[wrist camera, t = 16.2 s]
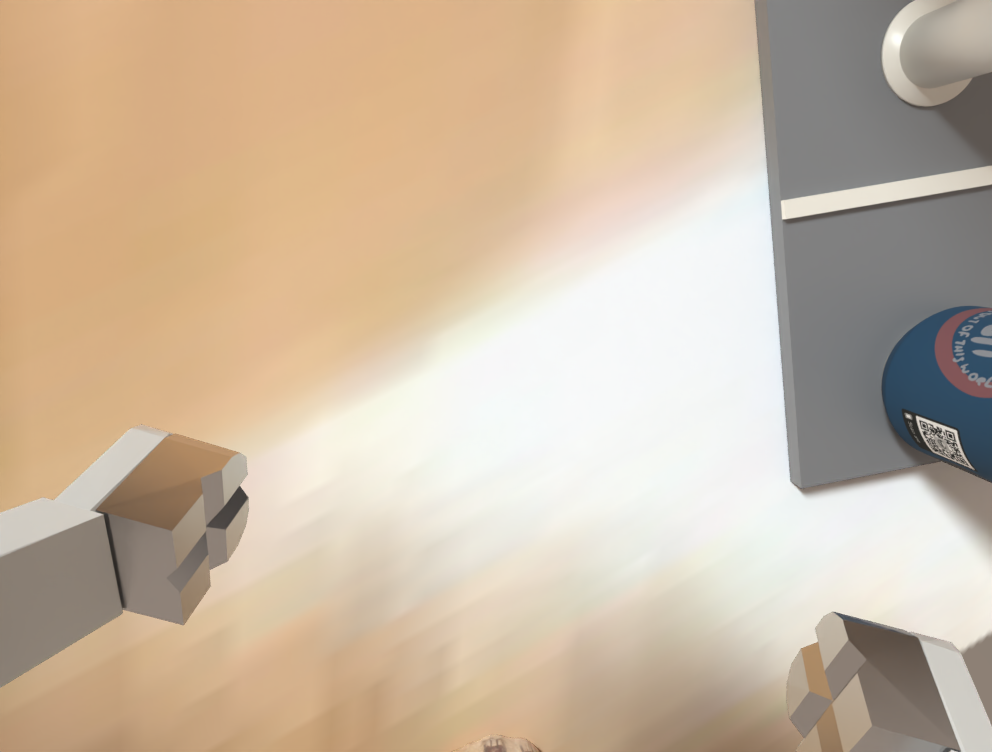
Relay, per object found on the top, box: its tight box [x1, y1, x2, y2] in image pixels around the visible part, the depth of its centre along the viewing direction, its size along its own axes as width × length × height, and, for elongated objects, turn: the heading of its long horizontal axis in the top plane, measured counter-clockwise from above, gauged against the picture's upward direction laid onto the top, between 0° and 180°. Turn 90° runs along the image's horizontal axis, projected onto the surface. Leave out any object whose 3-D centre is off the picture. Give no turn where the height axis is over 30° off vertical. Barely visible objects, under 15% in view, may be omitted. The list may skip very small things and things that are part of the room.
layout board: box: [755, 0, 992, 489], centre depth 28 cm, size 26×12×7 cm, turn 9°
